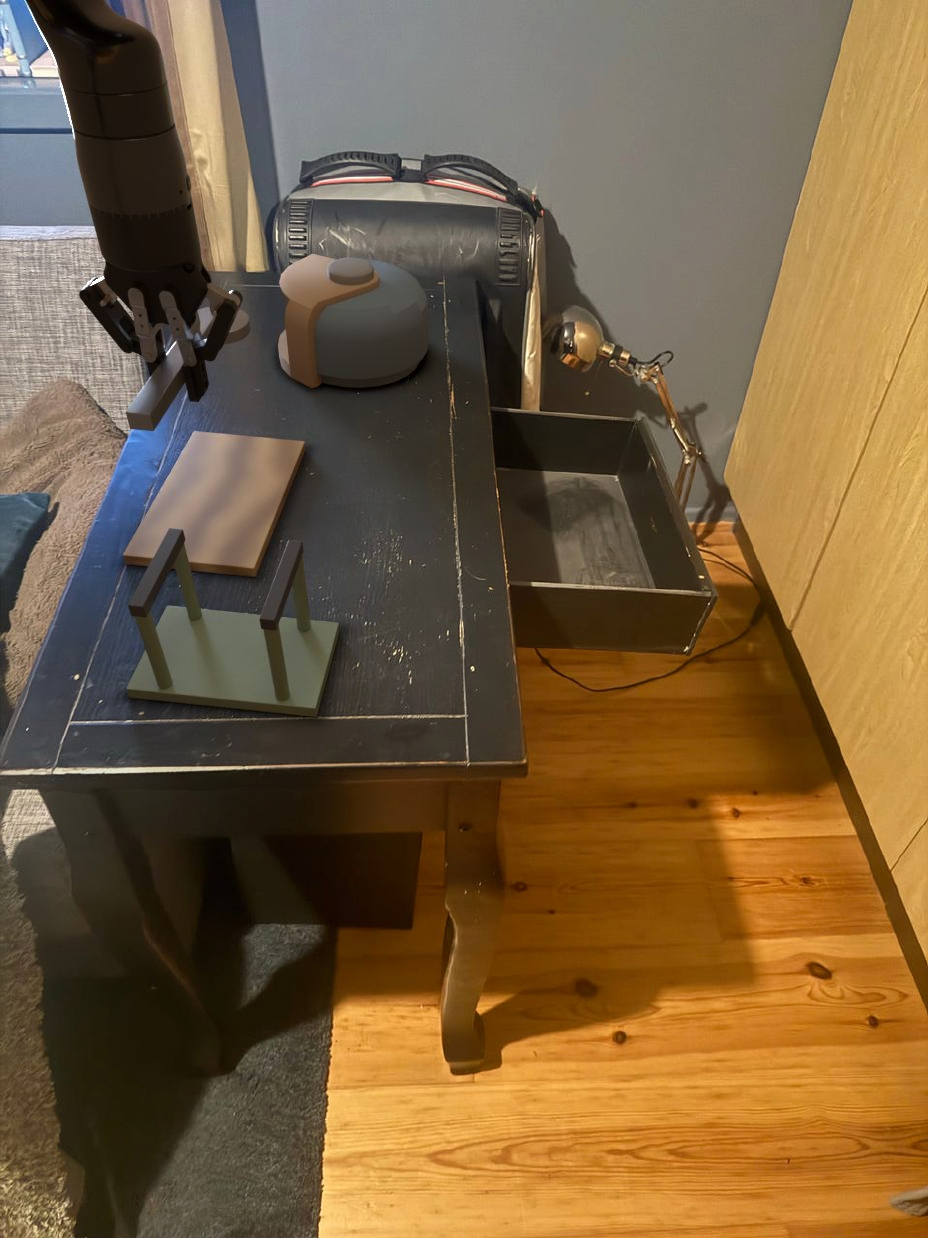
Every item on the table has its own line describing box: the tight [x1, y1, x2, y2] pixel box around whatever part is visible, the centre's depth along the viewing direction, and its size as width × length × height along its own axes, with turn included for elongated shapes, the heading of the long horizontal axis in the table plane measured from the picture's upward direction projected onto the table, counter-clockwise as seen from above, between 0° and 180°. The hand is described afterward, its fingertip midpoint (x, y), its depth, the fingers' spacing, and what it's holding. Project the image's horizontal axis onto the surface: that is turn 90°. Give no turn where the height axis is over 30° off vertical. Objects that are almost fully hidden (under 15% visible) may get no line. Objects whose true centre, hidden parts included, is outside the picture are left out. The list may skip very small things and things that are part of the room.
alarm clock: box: [277, 253, 430, 389], centre depth 107 cm, size 19×20×12 cm
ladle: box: [125, 306, 251, 432], centre depth 75 cm, size 24×6×3 cm, turn 175°
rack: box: [125, 528, 340, 718], centre depth 68 cm, size 16×10×11 cm, turn 85°
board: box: [122, 430, 307, 578], centre depth 87 cm, size 13×22×1 cm, turn 175°
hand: (183, 395), depth 74 cm, fingers closed on ladle, 2 cm apart
